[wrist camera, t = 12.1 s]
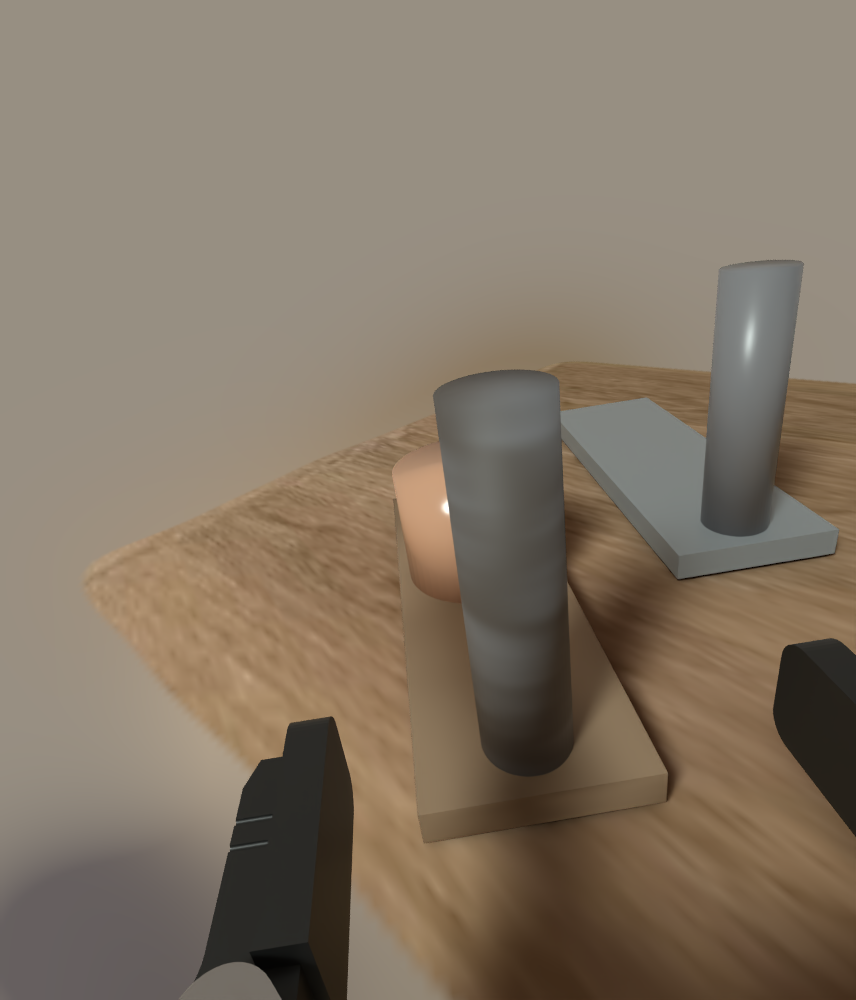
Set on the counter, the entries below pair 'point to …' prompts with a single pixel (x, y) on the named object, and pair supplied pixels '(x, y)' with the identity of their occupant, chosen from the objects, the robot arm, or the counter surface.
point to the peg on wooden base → (512, 636)
